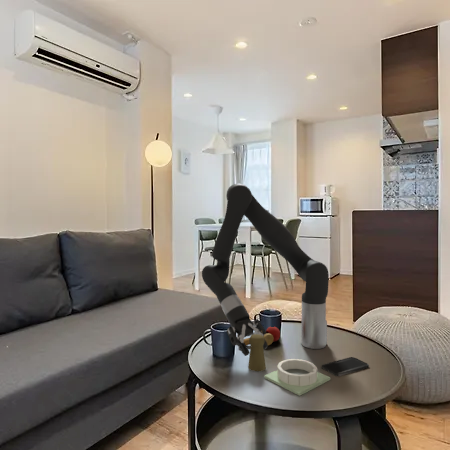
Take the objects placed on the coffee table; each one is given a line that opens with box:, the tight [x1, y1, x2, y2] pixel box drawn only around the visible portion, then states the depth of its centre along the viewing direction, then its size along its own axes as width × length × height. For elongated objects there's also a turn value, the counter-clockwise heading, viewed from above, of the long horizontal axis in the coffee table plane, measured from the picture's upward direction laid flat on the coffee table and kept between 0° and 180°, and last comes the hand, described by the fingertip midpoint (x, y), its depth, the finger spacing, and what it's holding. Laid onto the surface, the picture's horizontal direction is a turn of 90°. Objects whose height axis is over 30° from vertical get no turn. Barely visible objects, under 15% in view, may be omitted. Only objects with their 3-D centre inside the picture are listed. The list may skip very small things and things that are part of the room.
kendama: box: [243, 326, 281, 346], centre depth 141 cm, size 8×6×18 cm
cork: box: [247, 334, 267, 372], centre depth 120 cm, size 6×6×11 cm
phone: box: [321, 356, 370, 377], centre depth 120 cm, size 8×1×15 cm
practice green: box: [263, 358, 331, 396], centre depth 111 cm, size 15×14×4 cm
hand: (256, 351), depth 120 cm, fingers open, 8 cm apart
